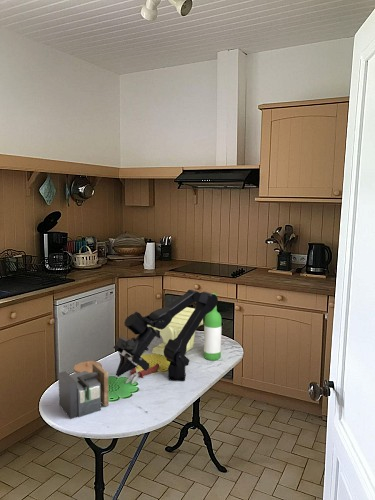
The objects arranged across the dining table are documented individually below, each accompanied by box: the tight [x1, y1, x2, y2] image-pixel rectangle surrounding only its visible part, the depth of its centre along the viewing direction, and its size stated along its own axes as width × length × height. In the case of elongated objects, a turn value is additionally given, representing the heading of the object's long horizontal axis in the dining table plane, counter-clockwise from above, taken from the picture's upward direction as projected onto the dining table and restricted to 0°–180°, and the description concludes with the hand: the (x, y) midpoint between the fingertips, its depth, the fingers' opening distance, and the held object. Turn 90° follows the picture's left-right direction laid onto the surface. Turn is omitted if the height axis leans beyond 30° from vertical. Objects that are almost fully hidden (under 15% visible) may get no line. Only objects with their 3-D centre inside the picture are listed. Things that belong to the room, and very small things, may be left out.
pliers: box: [124, 362, 161, 385], centre depth 174 cm, size 12×20×3 cm, turn 162°
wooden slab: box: [77, 363, 109, 407], centre depth 148 cm, size 9×12×12 cm
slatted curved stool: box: [147, 306, 204, 356], centre depth 198 cm, size 30×16×18 cm, turn 152°
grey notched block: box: [58, 371, 102, 420], centre depth 146 cm, size 10×12×12 cm
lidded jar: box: [73, 360, 103, 374], centre depth 163 cm, size 11×11×9 cm
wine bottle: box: [203, 292, 222, 361], centre depth 190 cm, size 8×8×30 cm
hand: (116, 375), depth 155 cm, fingers closed
